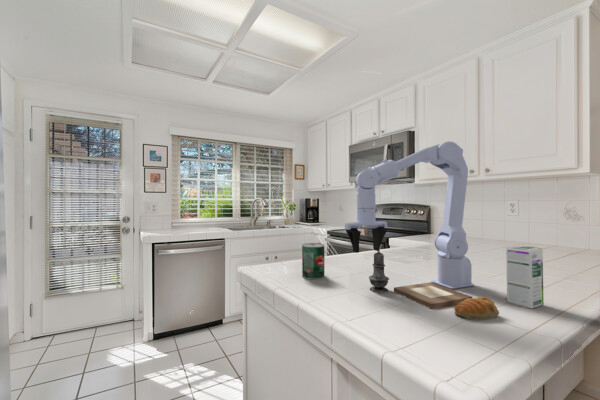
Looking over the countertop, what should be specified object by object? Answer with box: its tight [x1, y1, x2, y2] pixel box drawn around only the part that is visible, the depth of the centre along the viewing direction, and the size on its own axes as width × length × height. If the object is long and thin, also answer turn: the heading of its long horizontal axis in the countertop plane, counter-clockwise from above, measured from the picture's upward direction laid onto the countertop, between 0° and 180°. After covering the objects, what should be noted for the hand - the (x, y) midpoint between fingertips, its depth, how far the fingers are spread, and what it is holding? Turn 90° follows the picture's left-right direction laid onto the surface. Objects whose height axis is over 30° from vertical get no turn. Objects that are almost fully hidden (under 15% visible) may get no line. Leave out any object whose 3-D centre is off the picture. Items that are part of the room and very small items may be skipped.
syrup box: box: [505, 245, 545, 310], centre depth 74 cm, size 6×6×14 cm
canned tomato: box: [301, 242, 326, 280], centre depth 101 cm, size 8×8×11 cm
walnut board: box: [393, 281, 474, 310], centre depth 80 cm, size 14×14×1 cm
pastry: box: [454, 296, 500, 320], centre depth 68 cm, size 9×7×4 cm
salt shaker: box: [368, 250, 390, 294], centre depth 85 cm, size 6×6×12 cm
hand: (366, 251), depth 91 cm, fingers open, 7 cm apart
